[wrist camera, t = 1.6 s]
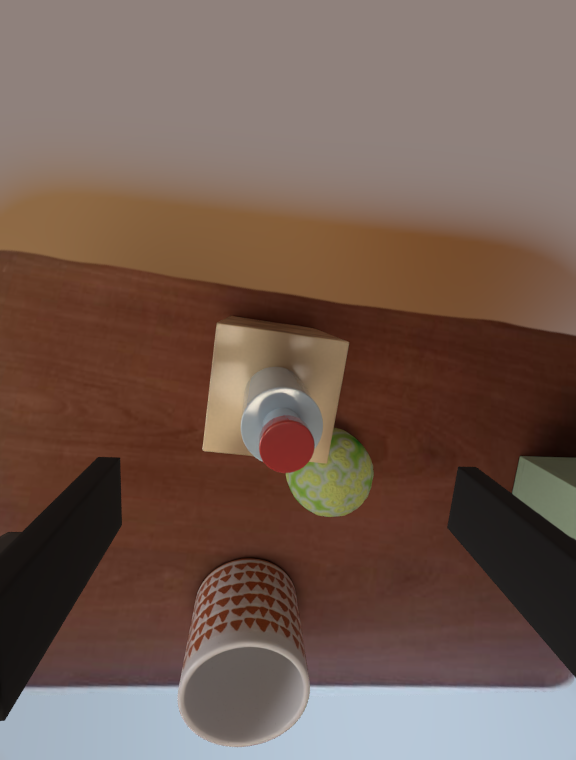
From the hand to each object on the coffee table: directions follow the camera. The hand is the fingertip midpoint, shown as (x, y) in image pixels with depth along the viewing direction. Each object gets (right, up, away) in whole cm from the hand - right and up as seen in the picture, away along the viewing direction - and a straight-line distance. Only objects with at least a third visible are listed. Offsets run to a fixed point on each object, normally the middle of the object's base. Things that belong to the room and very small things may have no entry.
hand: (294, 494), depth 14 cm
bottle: (-1, +3, +14) cm, 14 cm away
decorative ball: (+4, -5, +33) cm, 33 cm away
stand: (-3, +6, +29) cm, 30 cm away
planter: (-6, -26, +36) cm, 45 cm away
